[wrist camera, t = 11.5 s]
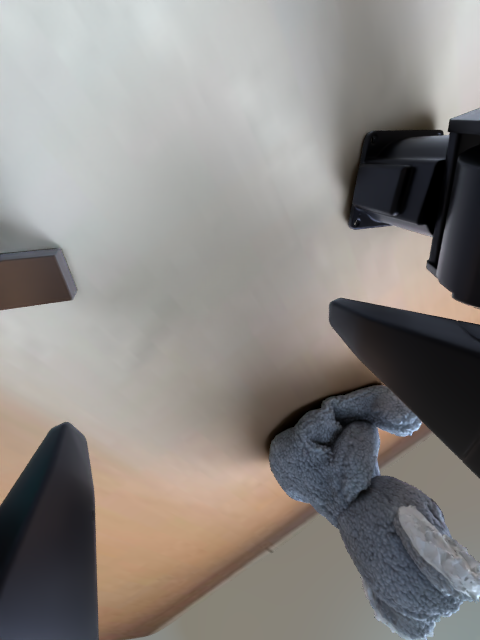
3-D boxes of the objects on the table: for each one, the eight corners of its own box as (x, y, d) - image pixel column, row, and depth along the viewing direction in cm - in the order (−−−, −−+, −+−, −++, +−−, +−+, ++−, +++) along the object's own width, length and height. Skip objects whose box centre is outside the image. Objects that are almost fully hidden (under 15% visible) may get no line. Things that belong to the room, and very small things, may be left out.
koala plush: (356, 451, 44) (473, 618, 28) (255, 479, 39) (329, 700, 23) (395, 374, 35) (597, 554, 20) (270, 397, 30) (406, 665, 14)
